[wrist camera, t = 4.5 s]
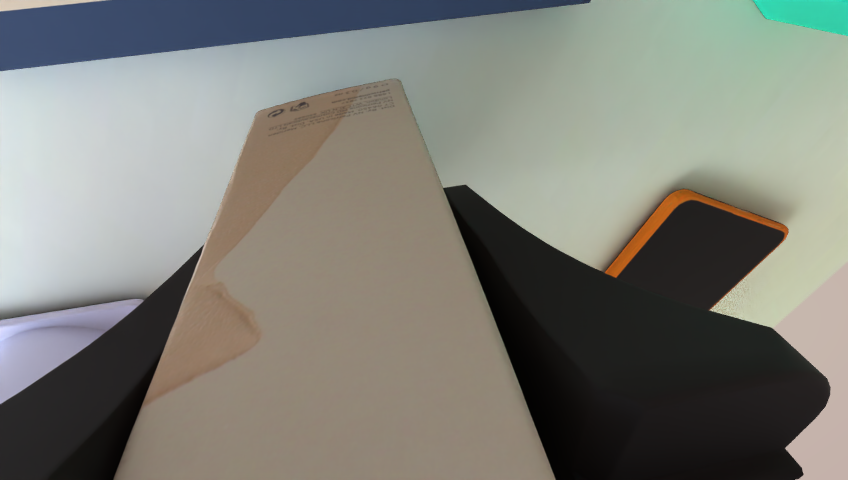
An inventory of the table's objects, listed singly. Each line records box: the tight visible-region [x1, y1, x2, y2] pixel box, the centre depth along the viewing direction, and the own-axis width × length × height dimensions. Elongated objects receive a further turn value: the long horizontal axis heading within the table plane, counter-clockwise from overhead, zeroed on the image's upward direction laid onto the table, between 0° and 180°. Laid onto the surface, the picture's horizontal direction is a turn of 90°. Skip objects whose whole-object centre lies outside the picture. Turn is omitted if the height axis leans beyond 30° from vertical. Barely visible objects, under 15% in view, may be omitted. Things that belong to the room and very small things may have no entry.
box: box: [113, 79, 556, 480], centre depth 9 cm, size 5×4×11 cm
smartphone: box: [605, 189, 789, 310], centre depth 22 cm, size 8×17×1 cm, turn 158°
